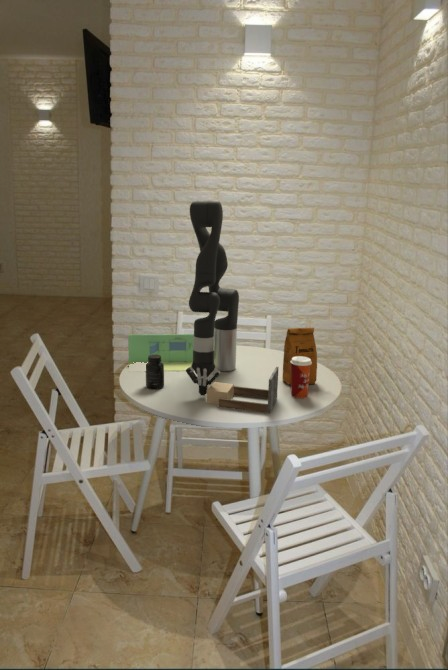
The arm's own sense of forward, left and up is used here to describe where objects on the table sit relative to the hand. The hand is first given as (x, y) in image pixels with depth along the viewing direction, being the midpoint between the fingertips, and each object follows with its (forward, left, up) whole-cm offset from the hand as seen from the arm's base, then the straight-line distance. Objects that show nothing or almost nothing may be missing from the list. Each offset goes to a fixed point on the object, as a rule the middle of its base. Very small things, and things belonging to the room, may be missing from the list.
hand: (202, 394), depth 213 cm
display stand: (-29, -25, -2) cm, 39 cm away
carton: (0, +6, -1) cm, 7 cm away
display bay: (0, +17, -1) cm, 17 cm away
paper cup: (-13, +33, -1) cm, 35 cm away
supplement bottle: (-5, -20, -1) cm, 21 cm away
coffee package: (-27, +31, -1) cm, 41 cm away
